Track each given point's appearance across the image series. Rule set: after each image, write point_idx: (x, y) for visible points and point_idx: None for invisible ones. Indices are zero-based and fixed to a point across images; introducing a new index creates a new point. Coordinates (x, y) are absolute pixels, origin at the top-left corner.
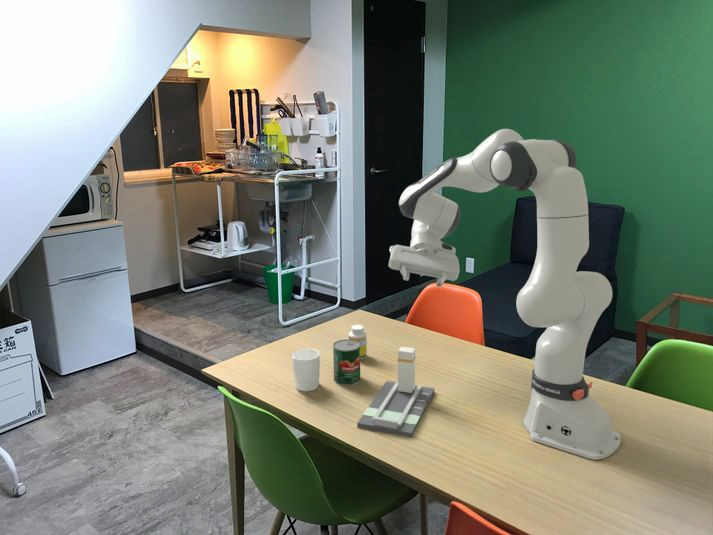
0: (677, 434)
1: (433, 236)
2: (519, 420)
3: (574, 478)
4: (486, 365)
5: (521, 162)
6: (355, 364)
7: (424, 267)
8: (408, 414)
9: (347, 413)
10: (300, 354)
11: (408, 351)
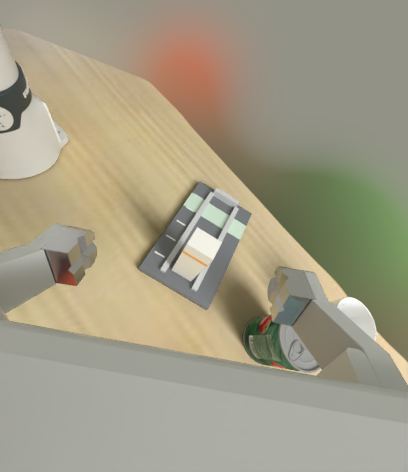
0: None
1: None
2: (53, 173)
3: (71, 91)
4: None
5: None
6: (268, 317)
7: (161, 349)
8: (195, 211)
9: (259, 244)
10: None
11: (203, 234)
